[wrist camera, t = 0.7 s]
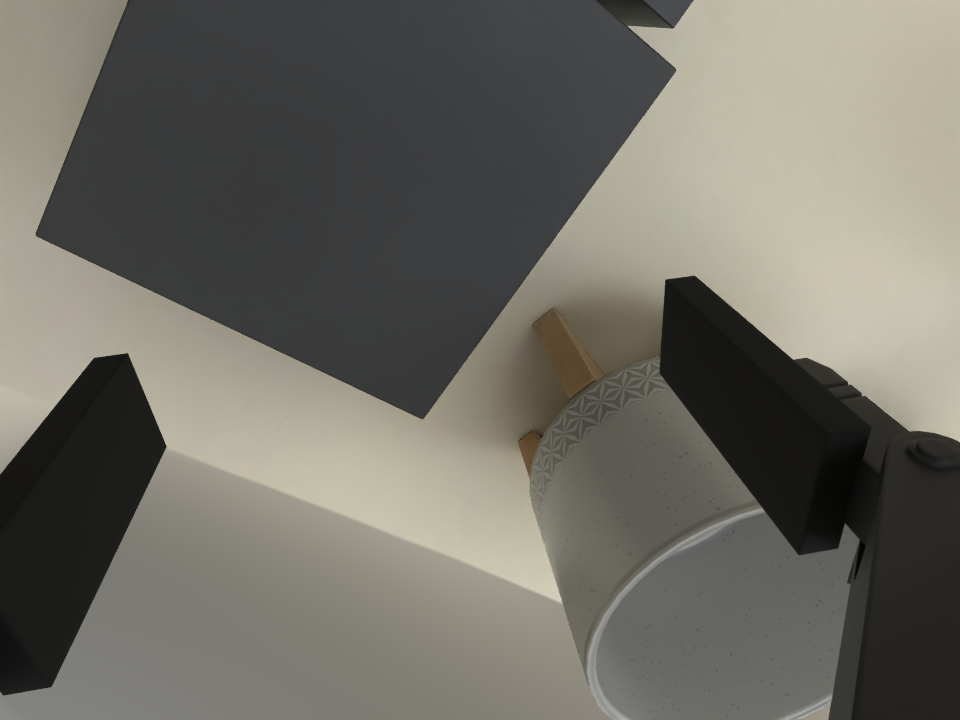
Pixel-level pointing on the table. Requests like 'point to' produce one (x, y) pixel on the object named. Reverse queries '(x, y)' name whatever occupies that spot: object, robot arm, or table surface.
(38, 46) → the table surface
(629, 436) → the planter
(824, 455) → the robot arm
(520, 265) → the cabinet
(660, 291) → the table surface
